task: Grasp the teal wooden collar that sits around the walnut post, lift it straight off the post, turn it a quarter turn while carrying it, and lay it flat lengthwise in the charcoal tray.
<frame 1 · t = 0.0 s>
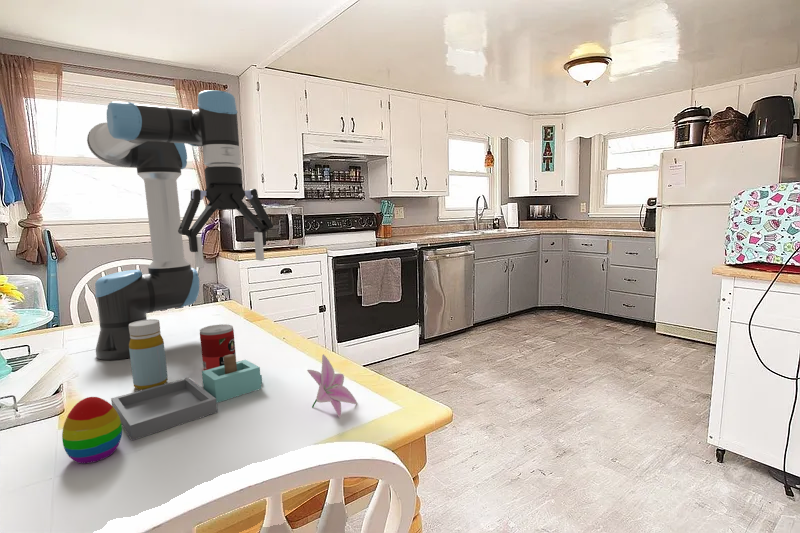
hand: (231, 263, 100), 28 cm above the table, tool pointing down, fingers open, 13 cm apart
canned food: (220, 371, 113), on the table
bottle: (151, 385, 105), on the table
lily: (331, 410, 89), on the table
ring: (232, 390, 100), on the table
post: (232, 390, 100), on the table
tray: (164, 411, 90), on the table
decorative egg: (96, 455, 75), on the table
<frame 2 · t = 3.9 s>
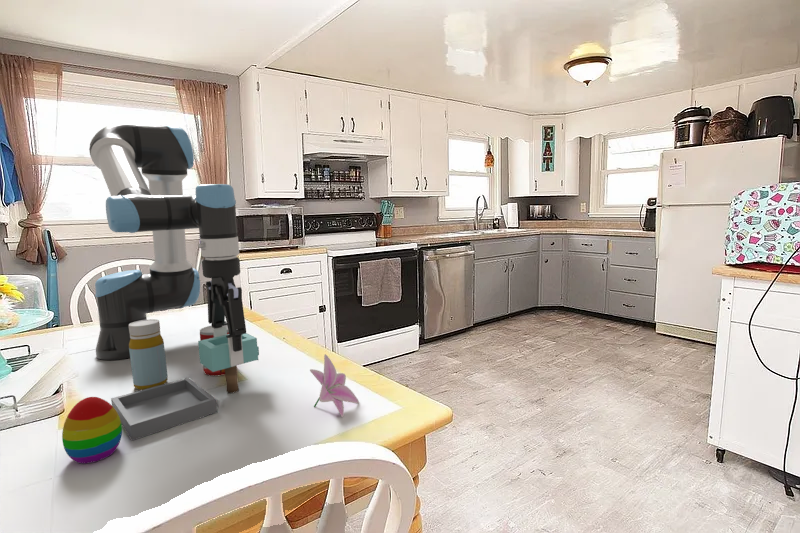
hand: (229, 359, 99), 7 cm above the table, tool pointing down, fingers closed on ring, 7 cm apart
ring: (229, 361, 99), point 7 cm above the table, touching gripper
everything else where it was.
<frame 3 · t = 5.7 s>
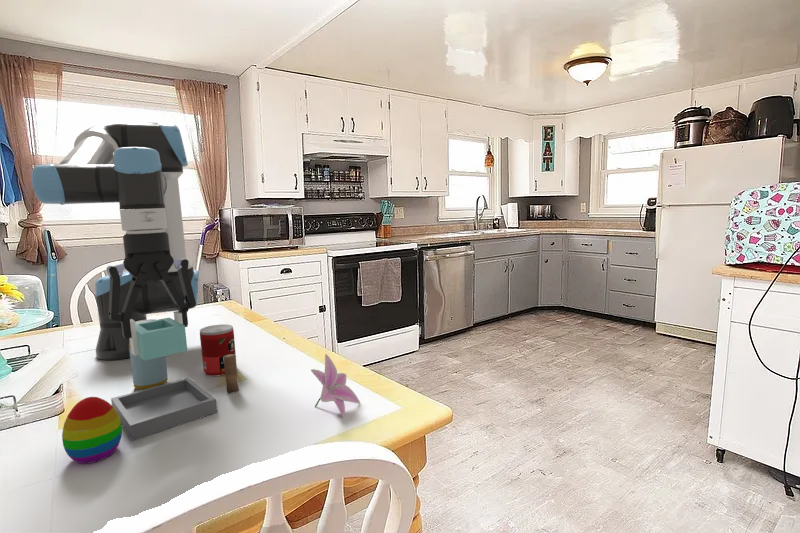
hand: (158, 348, 88), 13 cm above the table, tool pointing down, fingers closed on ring, 7 cm apart
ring: (158, 350, 88), point 13 cm above the table, touching gripper
everything else where it was.
when the fingers open (2 cm above the table, at t = 8.0 s): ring drops 1 cm, resting on tray.
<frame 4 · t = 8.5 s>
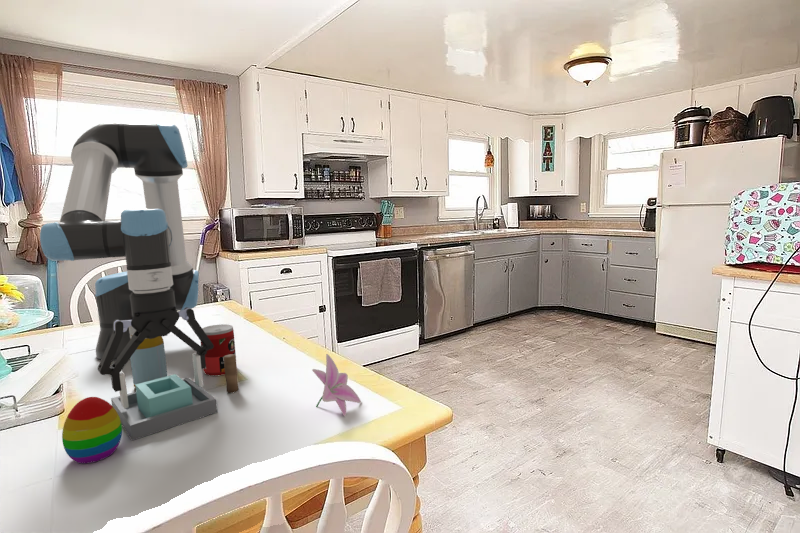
hand: (163, 394, 89), 4 cm above the table, tool pointing down, fingers open, 13 cm apart
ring: (165, 409, 90), point 1 cm above the table, touching tray
everything else where it was.
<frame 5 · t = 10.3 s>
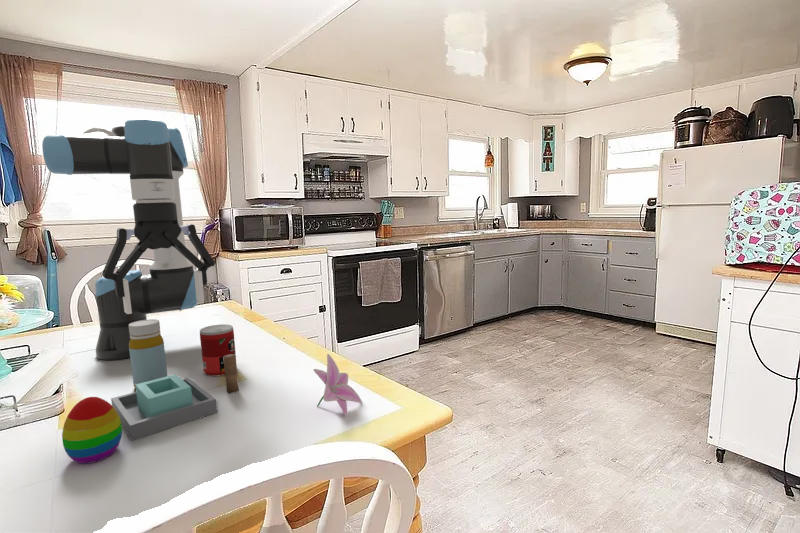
hand: (166, 306, 92), 21 cm above the table, tool pointing down, fingers open, 13 cm apart
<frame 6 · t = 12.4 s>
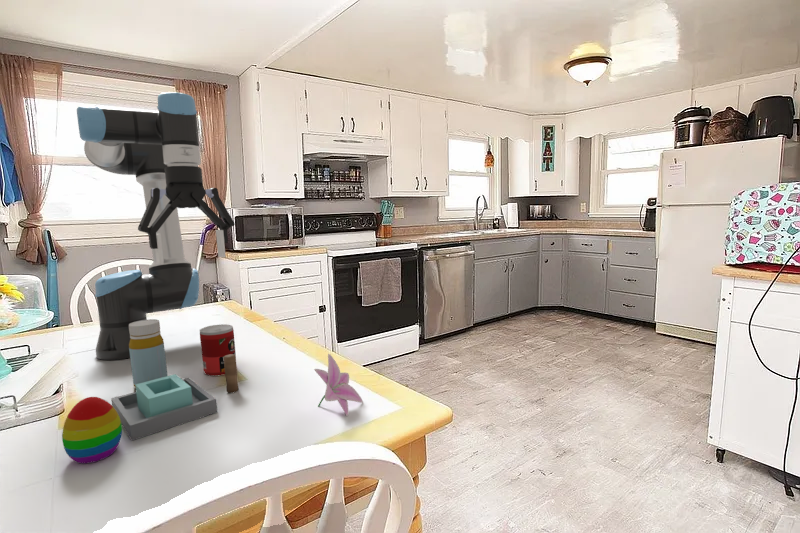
hand: (192, 260, 103), 29 cm above the table, tool pointing down, fingers open, 13 cm apart
at the end: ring inside the target area on the tray (0.5 cm from its centre), point 0.8 cm above the tray's base; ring tilted 0°; the gripper is holding nothing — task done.
